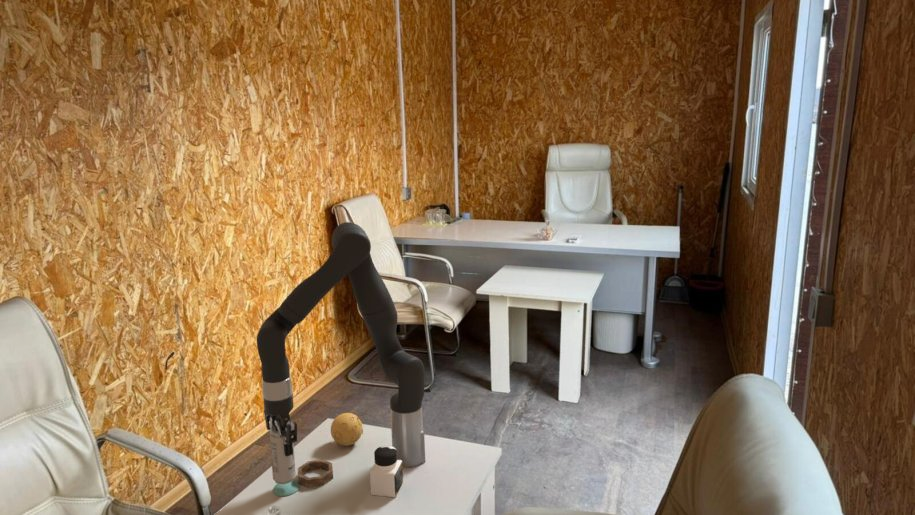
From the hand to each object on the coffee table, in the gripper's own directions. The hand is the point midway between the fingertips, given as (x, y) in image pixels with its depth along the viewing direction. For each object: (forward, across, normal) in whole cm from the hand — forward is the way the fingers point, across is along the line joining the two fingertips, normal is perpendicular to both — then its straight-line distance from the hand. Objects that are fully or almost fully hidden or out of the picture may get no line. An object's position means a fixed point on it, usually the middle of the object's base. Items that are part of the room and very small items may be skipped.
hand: (283, 450), depth 166 cm
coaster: (+12, 0, 0) cm, 12 cm away
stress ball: (+12, +8, -25) cm, 29 cm away
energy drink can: (+9, 0, 0) cm, 9 cm away
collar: (+12, -1, -9) cm, 15 cm away
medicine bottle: (+12, -20, -20) cm, 30 cm away
